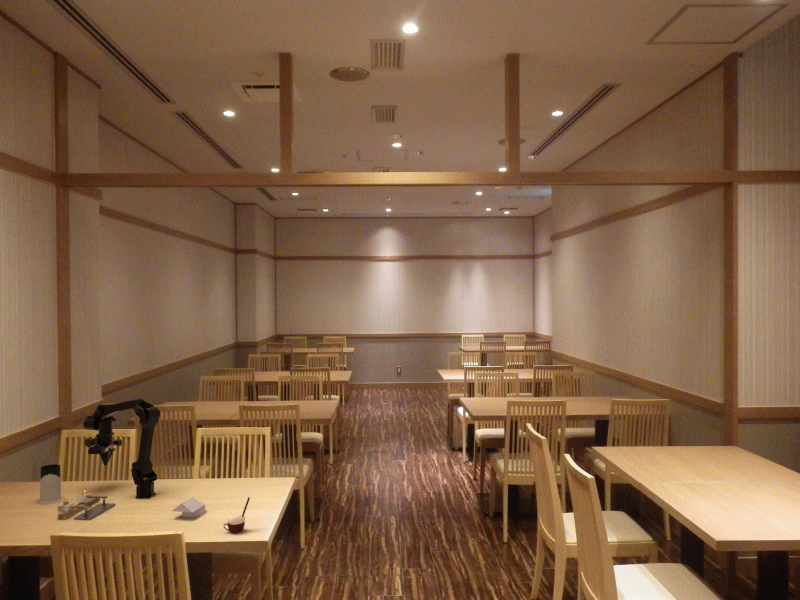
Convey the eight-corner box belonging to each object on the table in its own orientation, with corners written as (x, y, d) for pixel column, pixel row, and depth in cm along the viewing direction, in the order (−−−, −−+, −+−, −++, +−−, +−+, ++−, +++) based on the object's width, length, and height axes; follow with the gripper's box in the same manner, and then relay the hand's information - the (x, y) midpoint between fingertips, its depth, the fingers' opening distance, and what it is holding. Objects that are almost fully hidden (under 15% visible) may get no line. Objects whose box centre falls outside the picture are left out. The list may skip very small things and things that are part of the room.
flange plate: (115, 505, 260) (115, 503, 260) (90, 520, 242) (90, 517, 242) (99, 505, 260) (99, 502, 260) (74, 519, 242) (74, 517, 242)
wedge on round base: (192, 521, 240) (209, 510, 253) (192, 503, 240) (209, 493, 253) (171, 519, 242) (189, 508, 255) (171, 502, 242) (189, 492, 255)
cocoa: (222, 535, 226) (220, 503, 225) (228, 528, 232) (226, 497, 232) (247, 534, 225) (246, 502, 225) (252, 527, 232) (250, 496, 231)
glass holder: (37, 505, 260) (37, 470, 260) (41, 496, 273) (41, 462, 273) (61, 502, 264) (61, 467, 264) (63, 493, 277) (63, 460, 277)
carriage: (109, 502, 259) (109, 489, 259) (104, 506, 255) (104, 492, 255) (83, 502, 260) (83, 488, 260) (77, 505, 256) (77, 492, 256)
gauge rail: (118, 500, 266) (117, 484, 266) (85, 520, 242) (85, 502, 242) (91, 500, 267) (91, 484, 267) (57, 519, 243) (57, 502, 243)
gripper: (100, 426, 289) (100, 460, 289) (76, 435, 271) (76, 470, 270) (122, 427, 288) (122, 460, 288) (100, 435, 270) (100, 470, 270)
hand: (105, 465), depth 279 cm, fingers closed
